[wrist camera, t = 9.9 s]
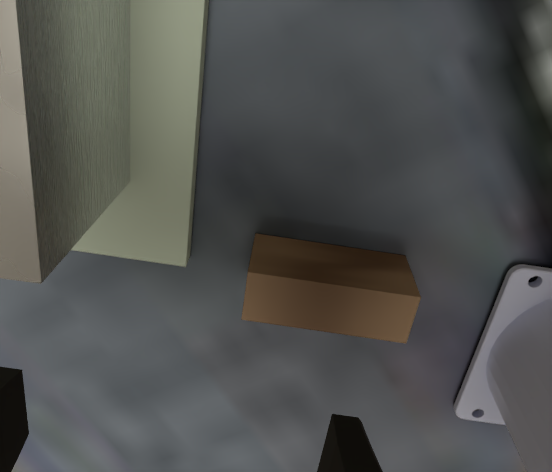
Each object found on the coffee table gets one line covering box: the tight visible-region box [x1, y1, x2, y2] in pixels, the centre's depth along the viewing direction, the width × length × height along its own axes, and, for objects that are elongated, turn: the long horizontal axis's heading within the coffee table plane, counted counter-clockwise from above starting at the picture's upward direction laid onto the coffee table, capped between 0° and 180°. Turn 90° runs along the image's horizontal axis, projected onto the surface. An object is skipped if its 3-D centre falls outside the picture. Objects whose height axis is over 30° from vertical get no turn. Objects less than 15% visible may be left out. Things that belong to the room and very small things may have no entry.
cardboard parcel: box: [241, 233, 421, 343], centre depth 16 cm, size 6×17×3 cm, turn 172°
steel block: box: [0, 0, 130, 284], centre depth 13 cm, size 4×10×7 cm, turn 173°
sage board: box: [71, 0, 209, 267], centre depth 17 cm, size 9×16×1 cm, turn 172°
